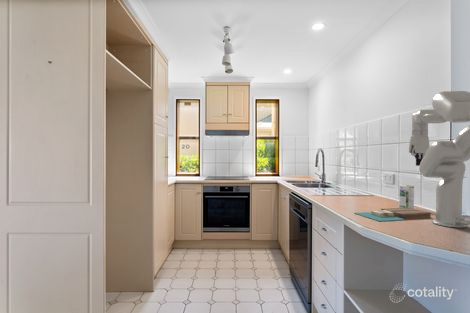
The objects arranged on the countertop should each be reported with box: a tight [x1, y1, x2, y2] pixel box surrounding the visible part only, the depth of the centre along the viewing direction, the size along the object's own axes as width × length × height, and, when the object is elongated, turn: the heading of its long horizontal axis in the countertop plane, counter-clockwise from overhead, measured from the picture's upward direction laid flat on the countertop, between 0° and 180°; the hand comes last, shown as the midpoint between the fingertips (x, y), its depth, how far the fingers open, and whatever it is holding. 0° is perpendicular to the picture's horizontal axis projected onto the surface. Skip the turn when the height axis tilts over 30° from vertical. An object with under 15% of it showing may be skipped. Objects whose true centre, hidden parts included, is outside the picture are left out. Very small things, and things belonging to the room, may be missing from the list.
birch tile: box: [370, 209, 394, 217], centre depth 139 cm, size 9×6×2 cm, turn 103°
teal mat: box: [354, 211, 406, 222], centre depth 137 cm, size 18×16×1 cm
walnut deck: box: [380, 207, 432, 220], centre depth 141 cm, size 14×18×2 cm
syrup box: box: [398, 184, 415, 209], centre depth 161 cm, size 6×6×14 cm
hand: (419, 165), depth 148 cm, fingers closed
